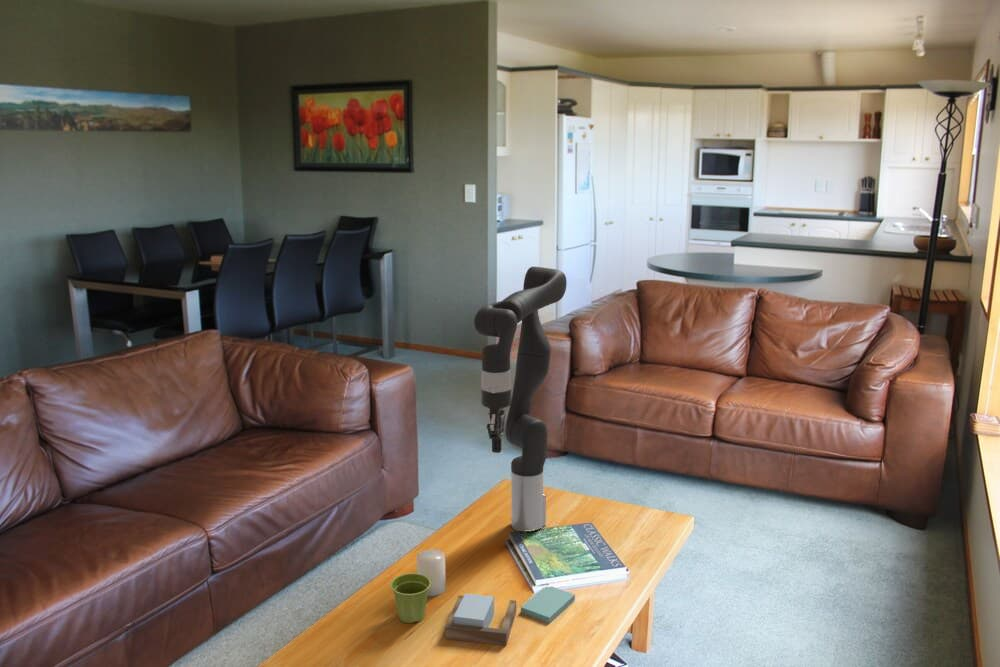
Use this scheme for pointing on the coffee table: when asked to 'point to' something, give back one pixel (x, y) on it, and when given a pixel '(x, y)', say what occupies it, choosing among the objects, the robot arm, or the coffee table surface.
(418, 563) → the white capsule shape
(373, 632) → the coffee table surface
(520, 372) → the robot arm
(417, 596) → the plant pot
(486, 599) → the carton
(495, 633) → the display bay
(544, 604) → the green flat block
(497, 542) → the coffee table surface
